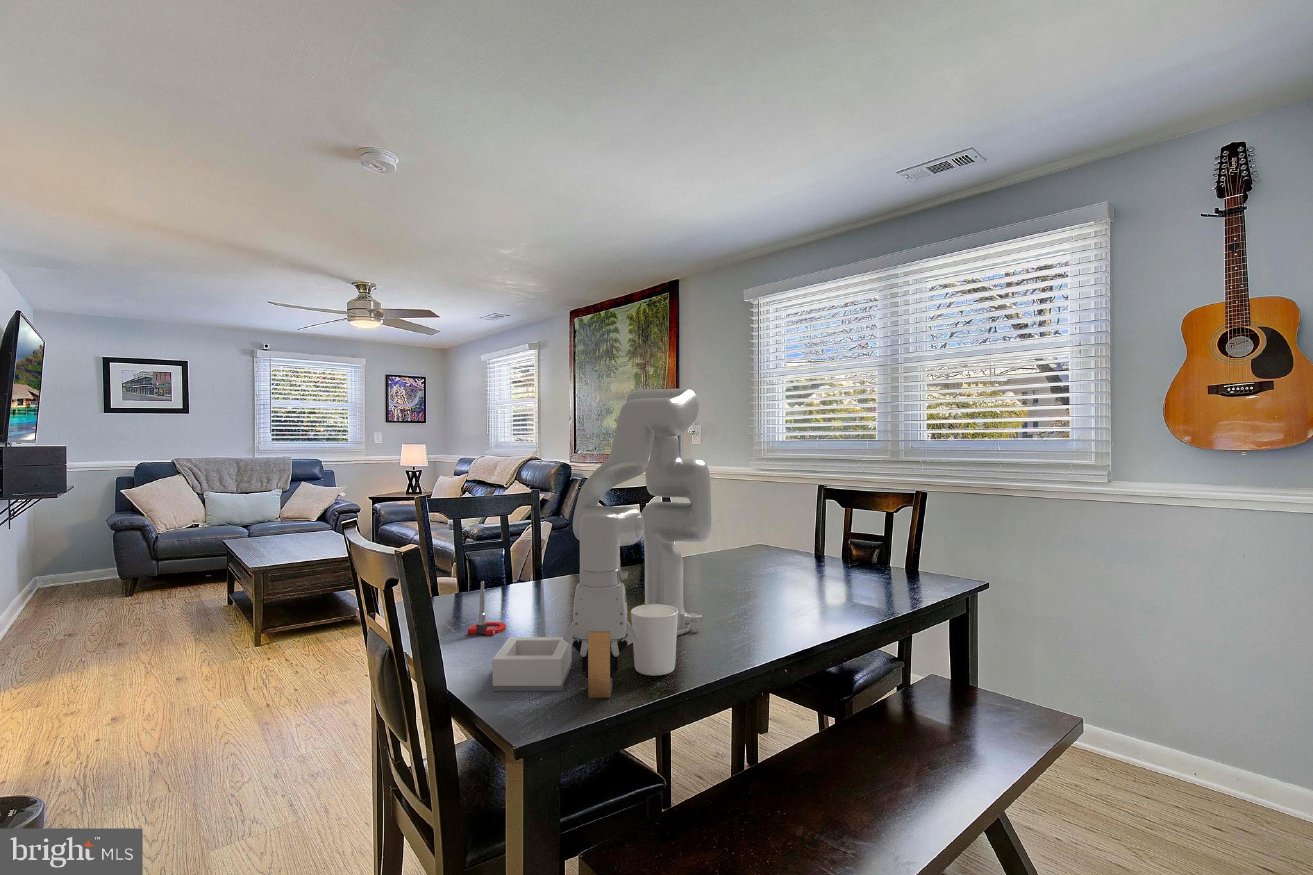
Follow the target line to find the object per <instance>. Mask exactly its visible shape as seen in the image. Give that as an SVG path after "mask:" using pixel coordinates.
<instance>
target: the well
mask: <svg viewBox="0 0 1313 875" xmlns="http://www.w3.org/2000/svg"><path fill="white" fill-rule="evenodd" d="M571 668H572V645H571V644H569V643H568V642H566V641H565V640H563V636H536V637H535V636H530V637H529V636H524V637H523V636H520V637H519V636H517V637H516V636H515V637H513V636H509V637H508V639H507V640H506V641H505V642H504V644H503V645H502V647H500V649H499V650H498V652H497V653H496V654H495V656H494V657H493V658H492V692H562V691H563V688H564V685H565V683H566V680H567V678H568V675H569V674H570V670H571Z"/></svg>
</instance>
